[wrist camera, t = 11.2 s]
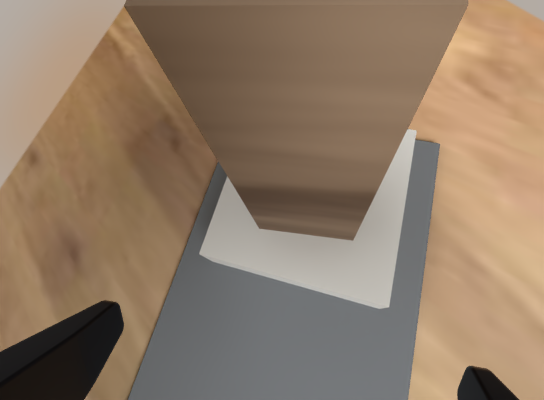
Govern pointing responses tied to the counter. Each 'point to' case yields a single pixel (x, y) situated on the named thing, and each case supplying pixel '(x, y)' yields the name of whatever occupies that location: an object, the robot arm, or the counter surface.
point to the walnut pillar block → (301, 94)
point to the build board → (296, 300)
